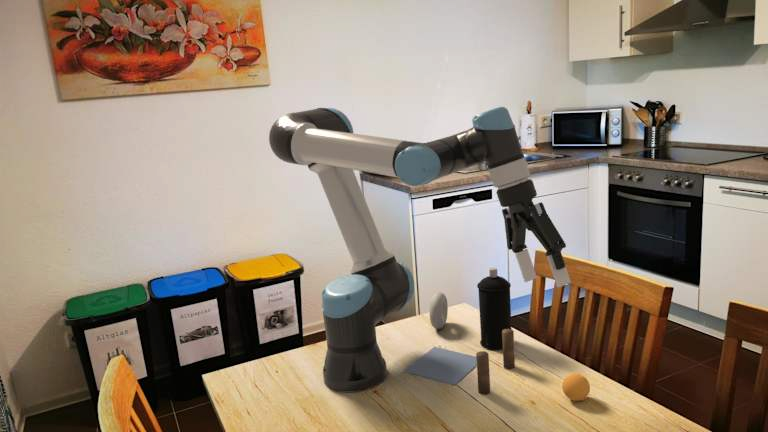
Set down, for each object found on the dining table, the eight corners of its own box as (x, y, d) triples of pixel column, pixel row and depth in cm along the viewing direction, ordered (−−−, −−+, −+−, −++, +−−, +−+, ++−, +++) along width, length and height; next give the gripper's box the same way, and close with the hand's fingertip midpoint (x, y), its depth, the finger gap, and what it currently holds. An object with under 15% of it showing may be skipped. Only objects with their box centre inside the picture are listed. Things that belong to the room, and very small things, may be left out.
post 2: (501, 367, 142) (500, 332, 139) (506, 363, 144) (505, 328, 141) (512, 370, 140) (510, 334, 138) (516, 365, 142) (515, 330, 140)
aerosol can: (499, 353, 148) (496, 276, 144) (473, 344, 154) (469, 270, 150) (519, 342, 154) (516, 267, 149) (493, 333, 160) (490, 261, 155)
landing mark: (403, 371, 144) (403, 370, 144) (434, 347, 155) (434, 346, 155) (454, 385, 136) (454, 384, 136) (483, 359, 147) (483, 358, 146)
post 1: (476, 393, 132) (474, 355, 130) (481, 387, 134) (479, 350, 132) (486, 396, 130) (485, 357, 128) (492, 390, 132) (490, 352, 130)
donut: (441, 335, 161) (439, 300, 159) (429, 334, 162) (426, 300, 160) (450, 320, 170) (447, 286, 168) (438, 319, 171) (435, 286, 169)
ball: (558, 401, 126) (557, 377, 125) (567, 389, 130) (567, 366, 129) (584, 408, 123) (584, 384, 121) (593, 396, 127) (593, 372, 126)
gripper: (561, 171, 111) (597, 279, 112) (503, 183, 135) (533, 272, 136) (525, 184, 109) (562, 294, 110) (473, 193, 134) (504, 284, 135)
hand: (546, 282), depth 123 cm, fingers open, 13 cm apart
